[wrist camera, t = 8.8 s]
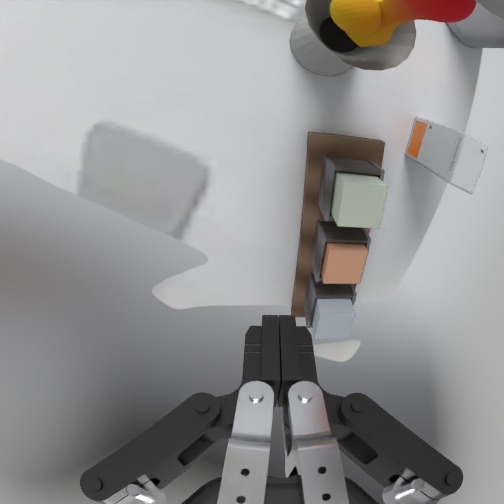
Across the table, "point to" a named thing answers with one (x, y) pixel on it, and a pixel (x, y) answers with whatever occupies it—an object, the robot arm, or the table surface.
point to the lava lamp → (370, 31)
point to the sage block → (357, 199)
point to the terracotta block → (343, 263)
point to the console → (328, 213)
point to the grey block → (332, 317)
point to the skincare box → (447, 153)
